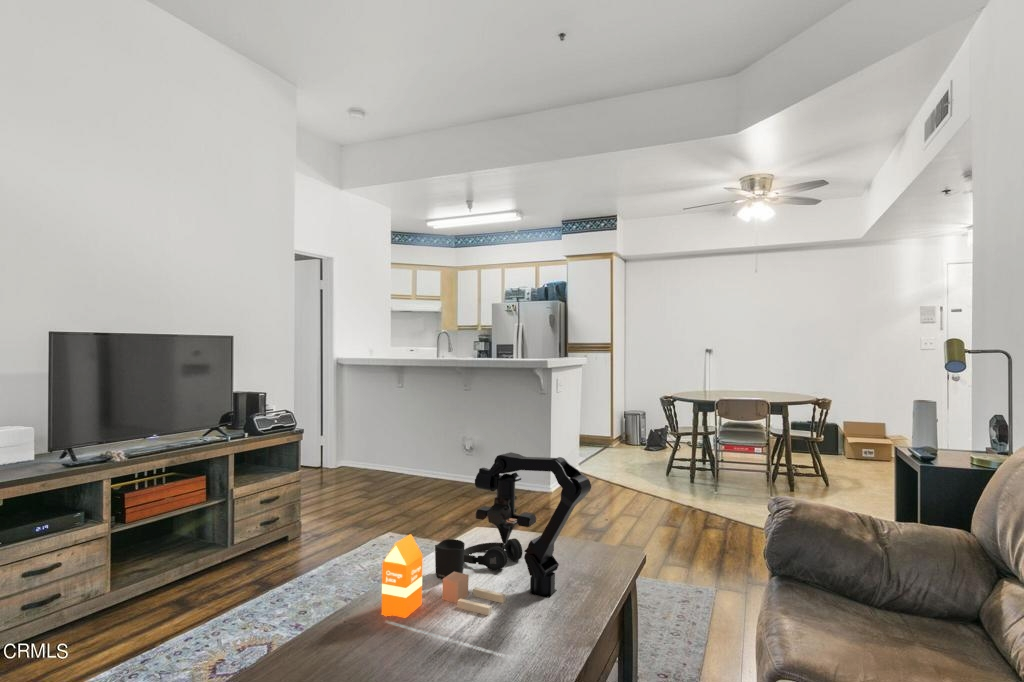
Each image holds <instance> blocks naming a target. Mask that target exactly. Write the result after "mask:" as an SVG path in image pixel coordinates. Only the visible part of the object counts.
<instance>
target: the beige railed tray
mask: <svg viewBox="0 0 1024 682" xmlns="http://www.w3.org/2000/svg"><path fill="white" fill-rule="evenodd" d="M472 596H473V597H476V598H480V599H485V600H488V601H493V602H497V603H500V604H504V603H505V602H506V601H507V599H506V594H505V593H502V592H497V591H495V590H494V591H493V590H489V589H485V588H480V587H474V588H472ZM456 604H457V606H456V607H457V608H459V609H462V610H465V611H470V612H474V613H477V614H482V615H485V616H488V617H489V616H490V615H491V614H492V605H488V604H484V603H480V602H477V601H472V600H468V599H466V598H464V599H461V598H460V599H459V600H458V601H457V603H456Z"/></svg>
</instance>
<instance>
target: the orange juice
mask: <svg viewBox="0 0 1024 682" xmlns="http://www.w3.org/2000/svg"><path fill="white" fill-rule="evenodd" d="M423 557H424V556H423V553H422V551H421V550H420V547H419V545H418V544H417V542H416V540H415V538H414V537H413V535H412V533H410V534H408V535H406V536H405V537H403V538H402V539H400V540H398V541H396V542H394V545H393V546H392V547H391V550H390V551H389V553H388V554H387V555H386V557H385V558H384V559H383V561H382V569H381V571H382V574H381V575H382V577H381V579H382V581H381V616H382V615H384V616H383V617H387V616H390V617H391V616H394V617H400V618H404V619H406V618H408V617H409V616H410V615H411V614H412V613H413V612H414V611H416V610H417V609H418V608H419V607H420V606H422V605H423V604H422V601H423V599H422V598H423Z"/></svg>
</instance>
